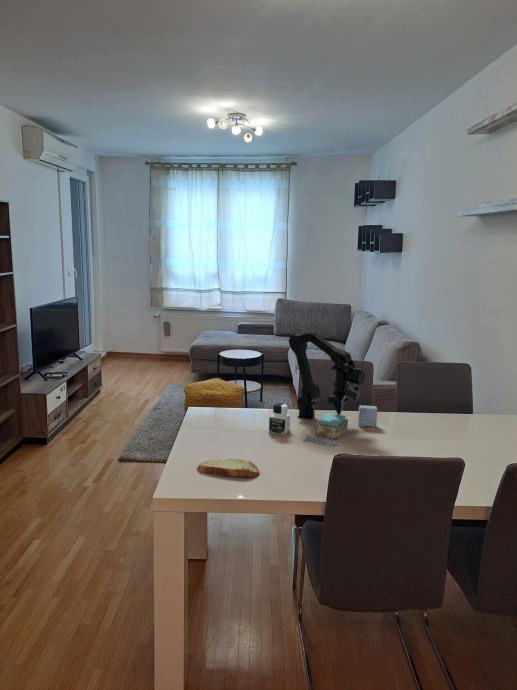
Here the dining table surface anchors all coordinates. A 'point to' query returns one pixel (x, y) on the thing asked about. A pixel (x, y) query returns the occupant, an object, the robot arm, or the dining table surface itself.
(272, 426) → the medicine bottle
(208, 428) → the dining table surface
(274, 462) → the dining table surface
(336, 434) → the wooden box
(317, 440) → the grey mat
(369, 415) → the medicine box
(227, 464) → the slice of bread
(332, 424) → the cover plate
